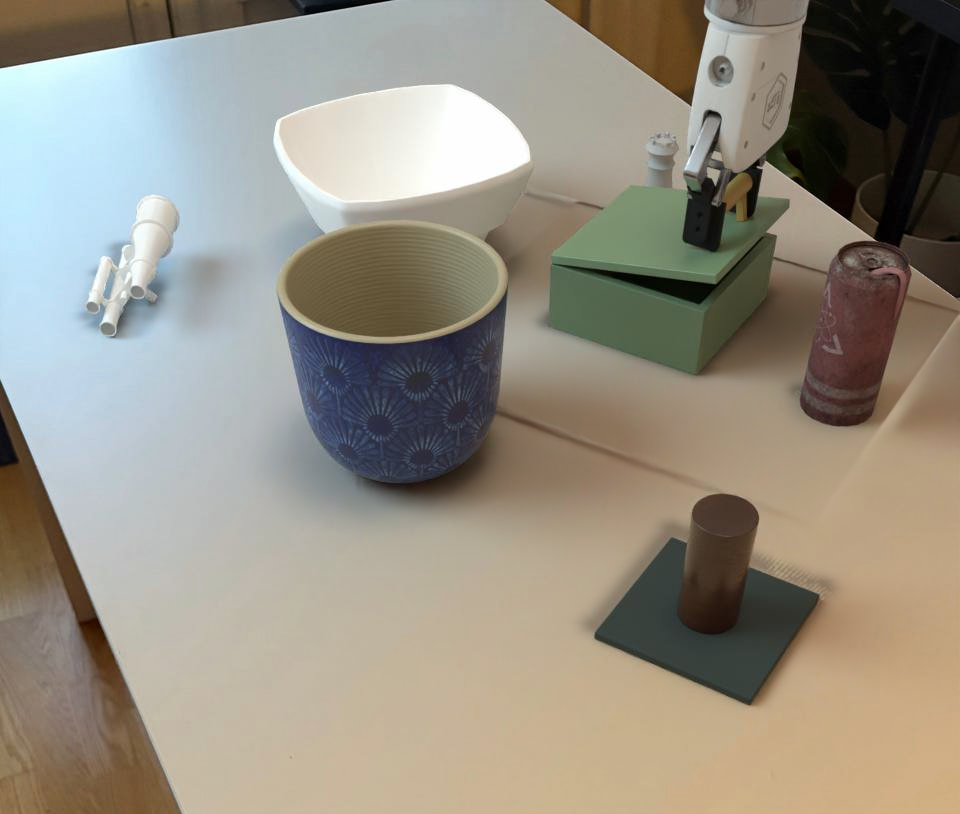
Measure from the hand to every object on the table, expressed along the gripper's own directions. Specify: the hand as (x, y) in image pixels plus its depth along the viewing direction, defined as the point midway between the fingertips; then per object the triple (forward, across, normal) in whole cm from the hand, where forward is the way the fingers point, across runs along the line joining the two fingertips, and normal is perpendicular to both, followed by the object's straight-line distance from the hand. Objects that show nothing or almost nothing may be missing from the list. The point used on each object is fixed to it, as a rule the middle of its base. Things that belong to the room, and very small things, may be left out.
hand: (718, 226), depth 103 cm
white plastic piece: (+12, -22, +48) cm, 54 cm away
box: (+10, 0, +4) cm, 11 cm away
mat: (+10, -33, -17) cm, 38 cm away
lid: (+2, 0, +4) cm, 5 cm away
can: (+10, -5, -15) cm, 19 cm away
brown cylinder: (+10, -33, -17) cm, 38 cm away
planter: (+11, -28, +13) cm, 33 cm away
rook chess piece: (+11, +17, +14) cm, 24 cm away
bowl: (+11, -3, +30) cm, 33 cm away
